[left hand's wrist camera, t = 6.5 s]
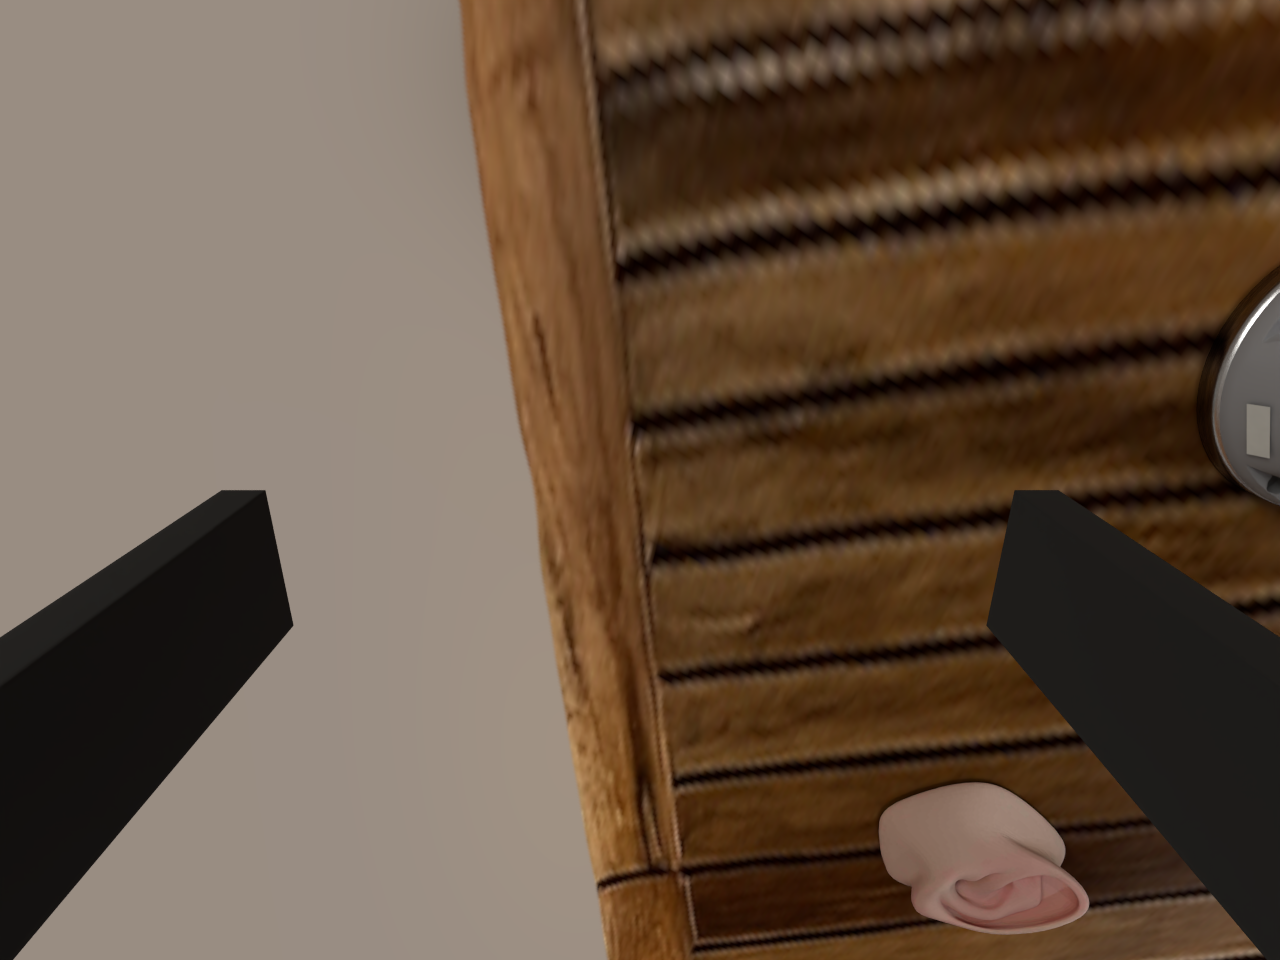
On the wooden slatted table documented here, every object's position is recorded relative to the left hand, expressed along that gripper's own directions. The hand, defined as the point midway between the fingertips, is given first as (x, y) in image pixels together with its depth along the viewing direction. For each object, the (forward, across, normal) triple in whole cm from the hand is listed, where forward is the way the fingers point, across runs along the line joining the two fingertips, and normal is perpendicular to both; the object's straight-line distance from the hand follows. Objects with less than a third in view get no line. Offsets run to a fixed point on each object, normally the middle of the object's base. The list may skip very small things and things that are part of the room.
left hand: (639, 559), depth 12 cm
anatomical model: (+26, +23, -37) cm, 51 cm away
